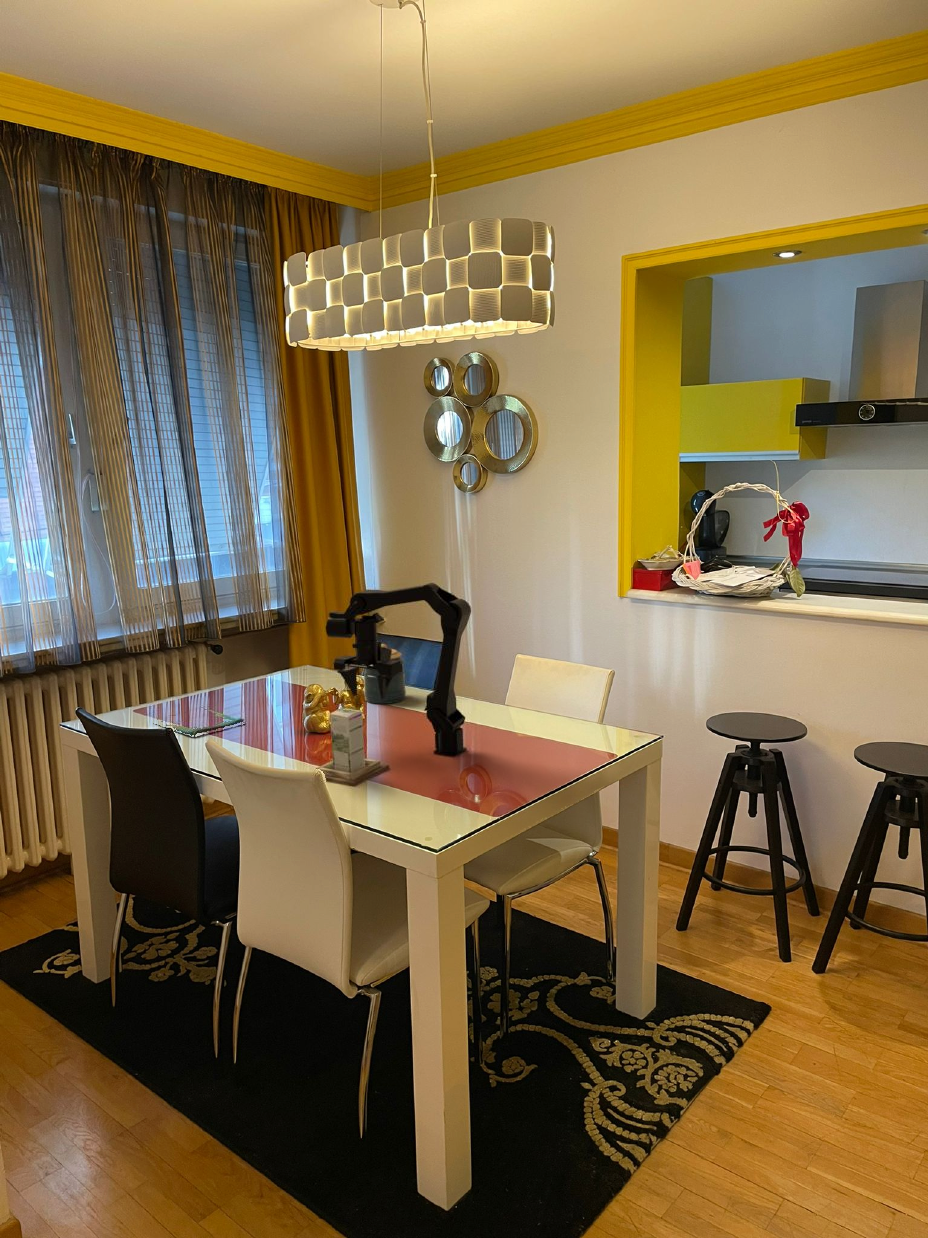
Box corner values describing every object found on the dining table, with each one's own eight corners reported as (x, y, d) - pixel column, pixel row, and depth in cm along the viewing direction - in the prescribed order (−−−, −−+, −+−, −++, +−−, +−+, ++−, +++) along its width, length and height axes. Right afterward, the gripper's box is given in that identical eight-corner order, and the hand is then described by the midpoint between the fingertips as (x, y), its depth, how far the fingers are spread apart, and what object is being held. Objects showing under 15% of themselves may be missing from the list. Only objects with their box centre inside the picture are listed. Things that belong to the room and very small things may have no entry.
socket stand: (389, 768, 224) (389, 760, 224) (354, 786, 212) (353, 778, 212) (343, 759, 231) (343, 752, 231) (307, 777, 219) (307, 769, 219)
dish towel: (193, 740, 253) (192, 731, 252) (151, 725, 269) (150, 717, 268) (246, 726, 265) (245, 718, 265) (203, 712, 281) (202, 704, 281)
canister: (390, 691, 297) (388, 638, 294) (414, 699, 287) (412, 643, 284) (356, 699, 289) (354, 644, 286) (380, 707, 279) (377, 650, 276)
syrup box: (366, 767, 222) (363, 709, 220) (350, 775, 217) (347, 716, 215) (347, 764, 225) (344, 706, 223) (332, 771, 220) (328, 713, 218)
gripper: (413, 635, 239) (415, 693, 242) (356, 630, 249) (359, 686, 252) (388, 643, 230) (391, 704, 233) (330, 638, 240) (333, 696, 242)
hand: (369, 697), depth 240 cm, fingers open, 9 cm apart
